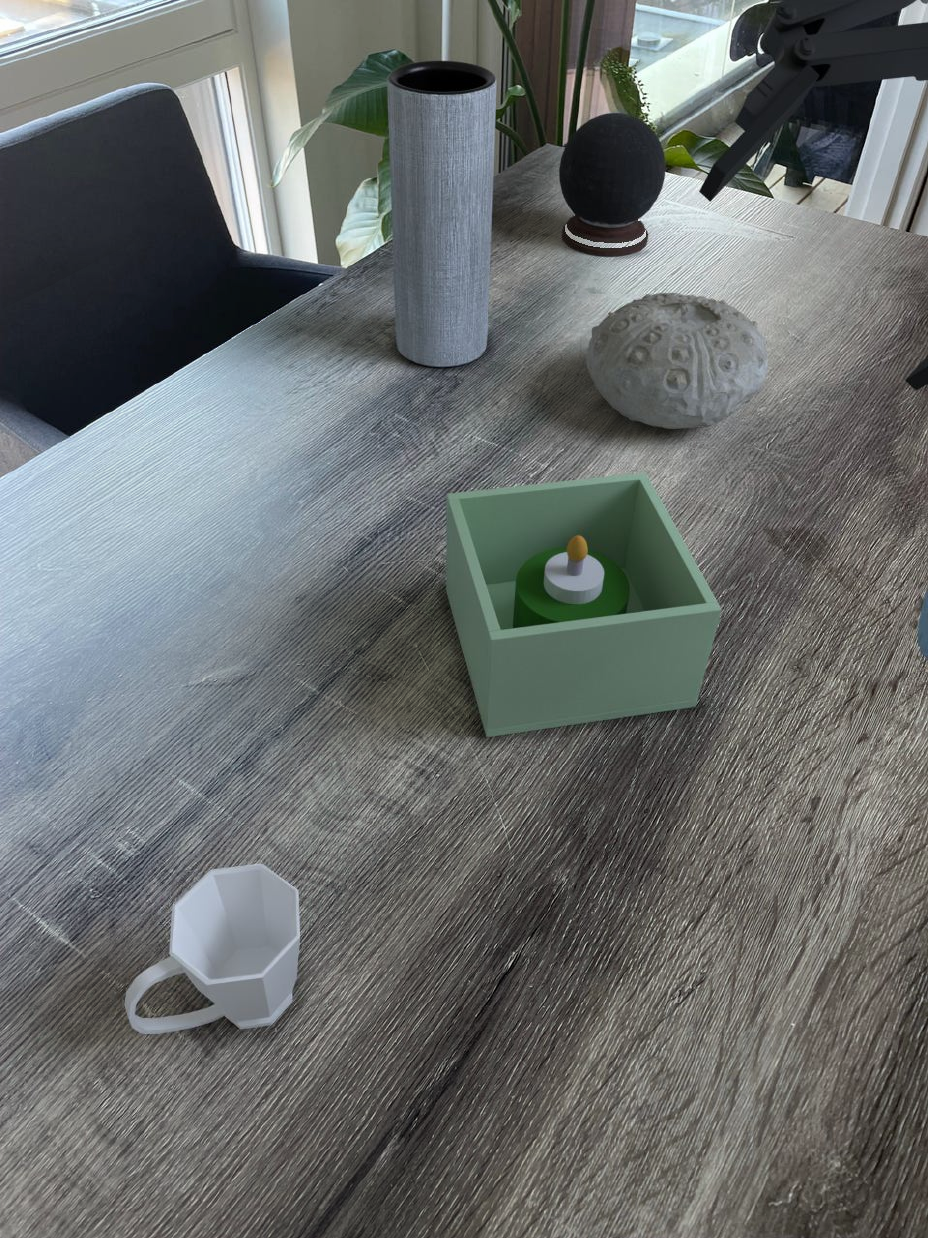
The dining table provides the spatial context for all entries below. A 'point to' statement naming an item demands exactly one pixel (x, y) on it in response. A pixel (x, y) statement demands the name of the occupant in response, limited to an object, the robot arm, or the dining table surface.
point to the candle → (568, 586)
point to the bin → (581, 649)
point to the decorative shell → (677, 360)
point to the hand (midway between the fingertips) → (816, 281)
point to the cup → (229, 950)
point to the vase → (441, 208)
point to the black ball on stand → (611, 182)
